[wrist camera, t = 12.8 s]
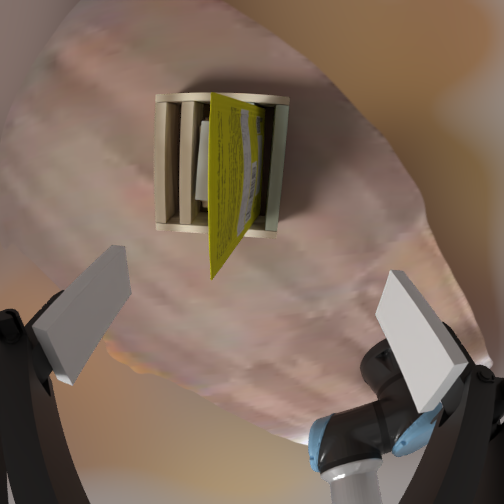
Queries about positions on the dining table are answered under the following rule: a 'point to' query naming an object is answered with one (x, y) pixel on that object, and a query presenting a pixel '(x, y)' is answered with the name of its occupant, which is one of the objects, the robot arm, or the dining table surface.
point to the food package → (233, 174)
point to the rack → (189, 151)
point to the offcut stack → (203, 164)
